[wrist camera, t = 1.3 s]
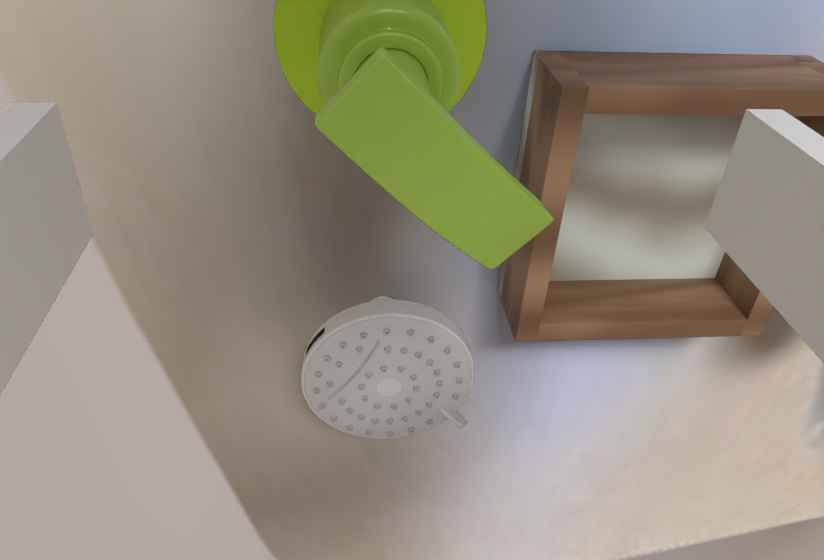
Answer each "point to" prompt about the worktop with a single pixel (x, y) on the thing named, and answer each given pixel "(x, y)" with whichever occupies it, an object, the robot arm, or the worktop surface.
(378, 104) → the soap dispenser
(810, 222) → the robot arm
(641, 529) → the worktop surface
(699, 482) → the worktop surface
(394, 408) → the showerhead
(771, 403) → the worktop surface
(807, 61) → the wooden box
